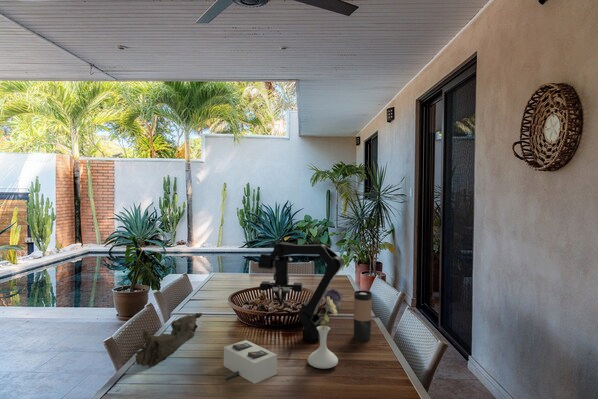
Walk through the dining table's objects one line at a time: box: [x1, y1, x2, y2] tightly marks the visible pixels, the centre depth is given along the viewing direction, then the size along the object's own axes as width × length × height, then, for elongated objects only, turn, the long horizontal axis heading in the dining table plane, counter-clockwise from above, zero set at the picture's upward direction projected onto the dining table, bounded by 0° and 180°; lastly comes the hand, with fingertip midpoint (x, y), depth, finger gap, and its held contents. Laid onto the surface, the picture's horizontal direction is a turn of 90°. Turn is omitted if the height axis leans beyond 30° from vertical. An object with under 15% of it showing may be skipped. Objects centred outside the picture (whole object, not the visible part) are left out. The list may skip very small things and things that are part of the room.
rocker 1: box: [233, 344, 252, 351], centre depth 145 cm, size 6×4×1 cm, turn 135°
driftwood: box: [134, 312, 203, 368], centre depth 160 cm, size 4×52×14 cm, turn 171°
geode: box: [323, 288, 343, 314], centre depth 218 cm, size 20×12×10 cm, turn 176°
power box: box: [223, 339, 278, 384], centre depth 140 cm, size 15×18×7 cm
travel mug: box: [353, 290, 373, 342], centre depth 174 cm, size 8×8×20 cm
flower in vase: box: [307, 296, 339, 370], centre depth 147 cm, size 13×11×25 cm
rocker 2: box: [248, 351, 268, 358], centre depth 138 cm, size 6×4×1 cm, turn 135°
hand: (281, 305), depth 176 cm, fingers closed
